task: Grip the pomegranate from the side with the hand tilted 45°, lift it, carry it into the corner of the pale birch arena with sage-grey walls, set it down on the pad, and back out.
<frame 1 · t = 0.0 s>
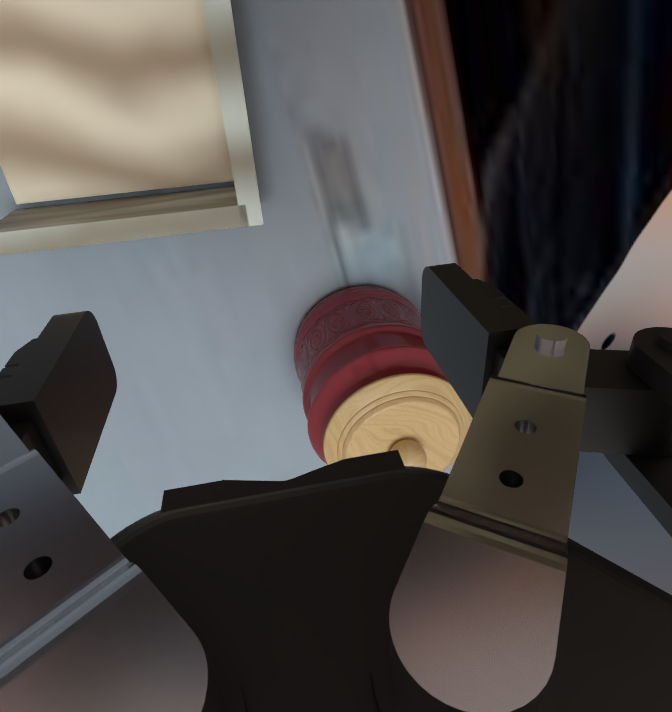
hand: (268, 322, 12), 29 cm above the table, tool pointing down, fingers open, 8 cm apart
arena: (104, 40, 32), on the table
canister: (357, 342, 48), on the table
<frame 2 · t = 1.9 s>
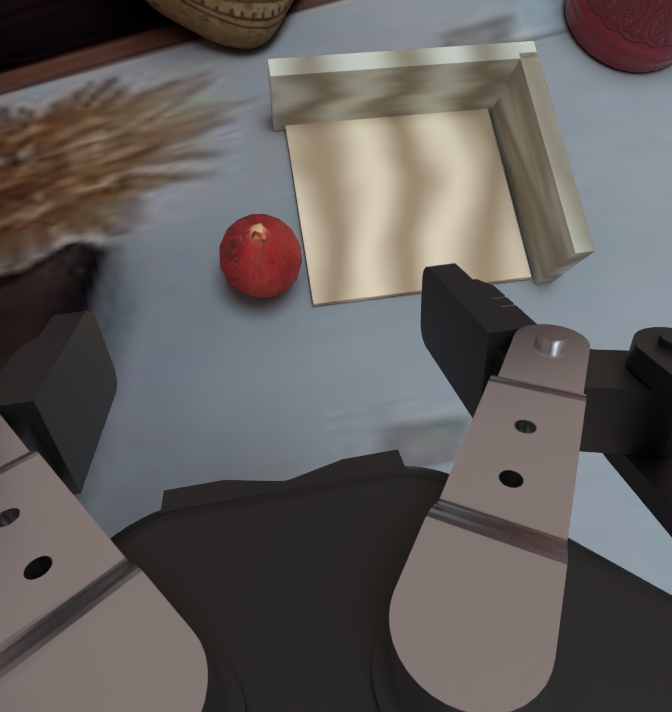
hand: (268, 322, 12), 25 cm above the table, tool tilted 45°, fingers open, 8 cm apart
arena: (396, 193, 41), on the table
pomegranate: (264, 277, 39), on the table
canister: (623, 22, 48), on the table
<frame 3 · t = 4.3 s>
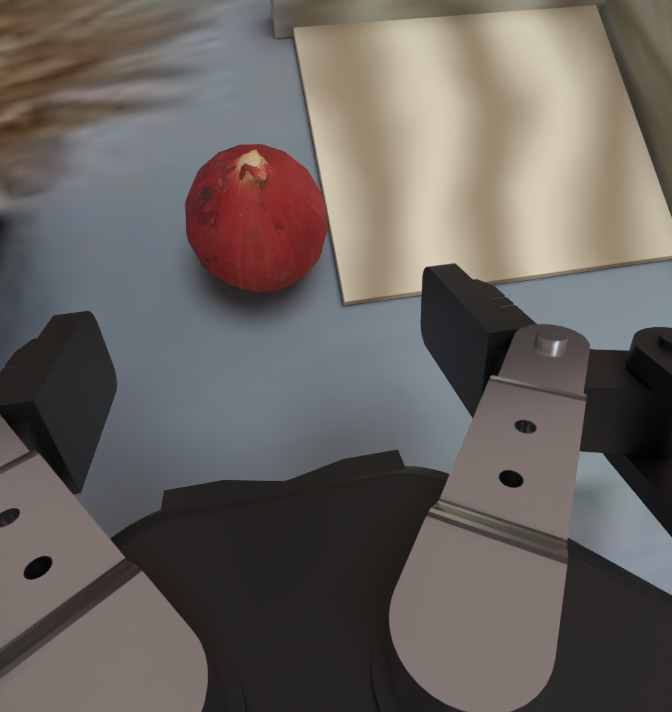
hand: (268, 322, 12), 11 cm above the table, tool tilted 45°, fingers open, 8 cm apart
arena: (466, 130, 27), on the table
pomegranate: (263, 260, 24), on the table
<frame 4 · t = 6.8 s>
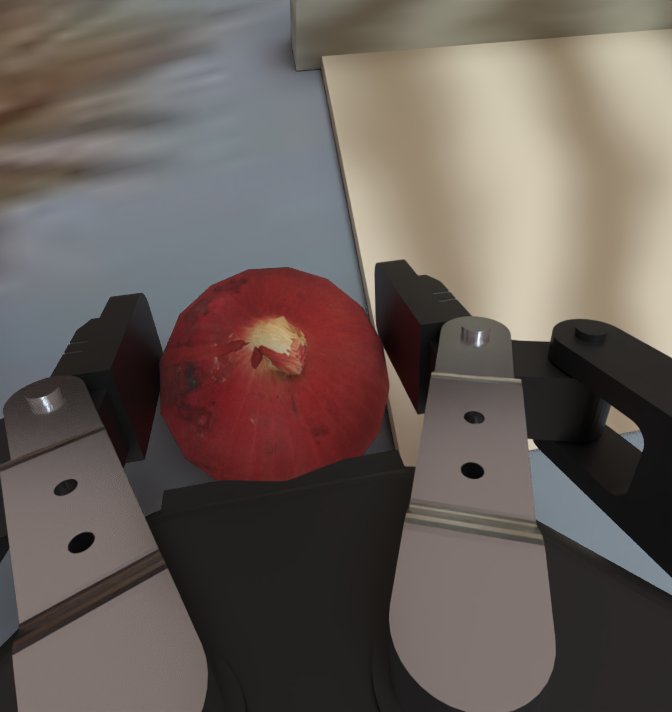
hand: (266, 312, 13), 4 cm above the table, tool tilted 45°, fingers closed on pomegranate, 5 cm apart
arena: (565, 201, 19), on the table
pomegranate: (281, 401, 17), on the table, touching gripper
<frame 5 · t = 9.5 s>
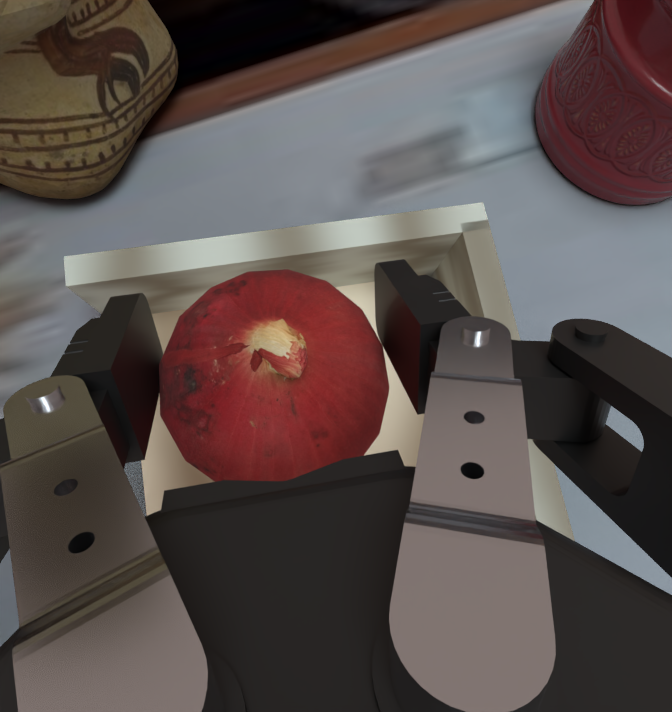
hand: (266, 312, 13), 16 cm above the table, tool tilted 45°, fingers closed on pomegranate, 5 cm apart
arena: (292, 412, 28), on the table
pomegranate: (281, 403, 16), point 12 cm above the table, touching gripper
ceramic vessel: (36, 85, 32), on the table
canister: (615, 129, 35), on the table
when the fingers open (6 cm above the table, at t = 12.5 s): pomegranate drops 1 cm, resting on arena.
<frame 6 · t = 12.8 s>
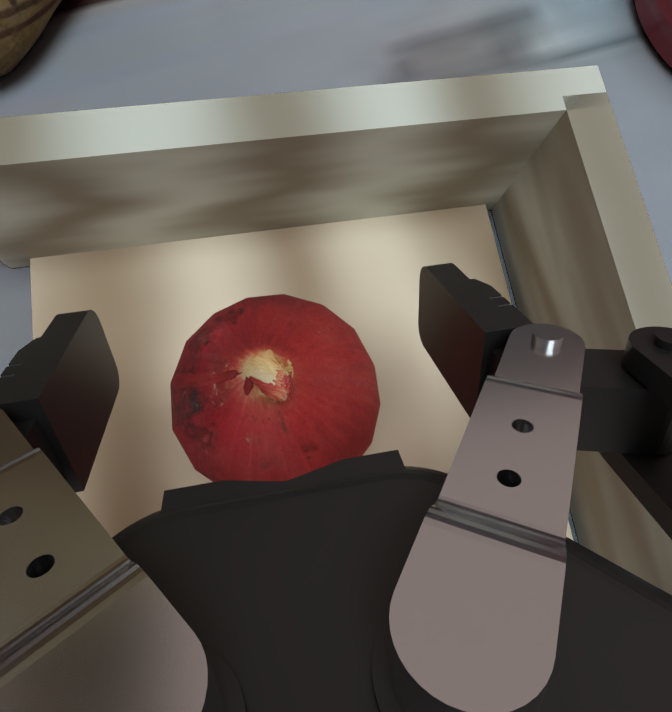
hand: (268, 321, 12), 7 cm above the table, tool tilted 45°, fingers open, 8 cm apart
arena: (283, 408, 18), on the table
pomegranate: (288, 410, 18), resting on arena
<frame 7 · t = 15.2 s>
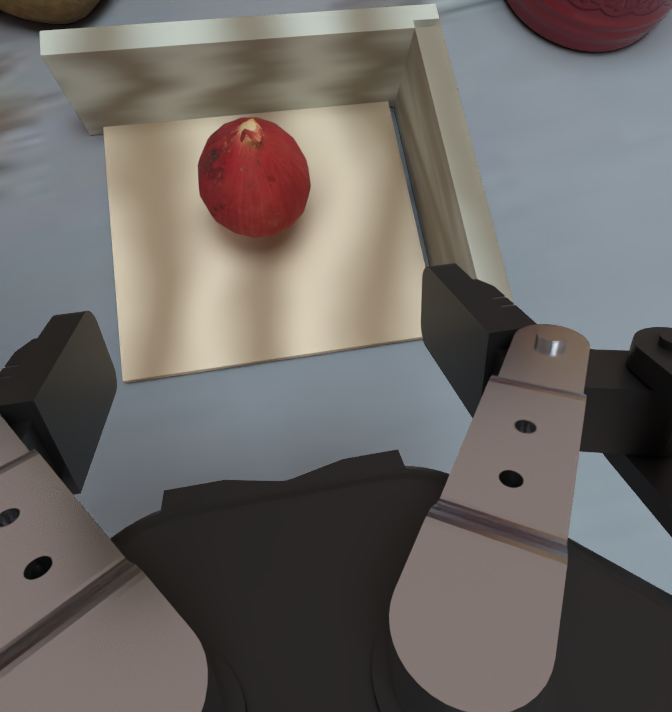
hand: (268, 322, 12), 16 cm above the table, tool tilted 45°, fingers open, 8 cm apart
arena: (258, 219, 30), on the table
pomegranate: (260, 218, 29), resting on arena
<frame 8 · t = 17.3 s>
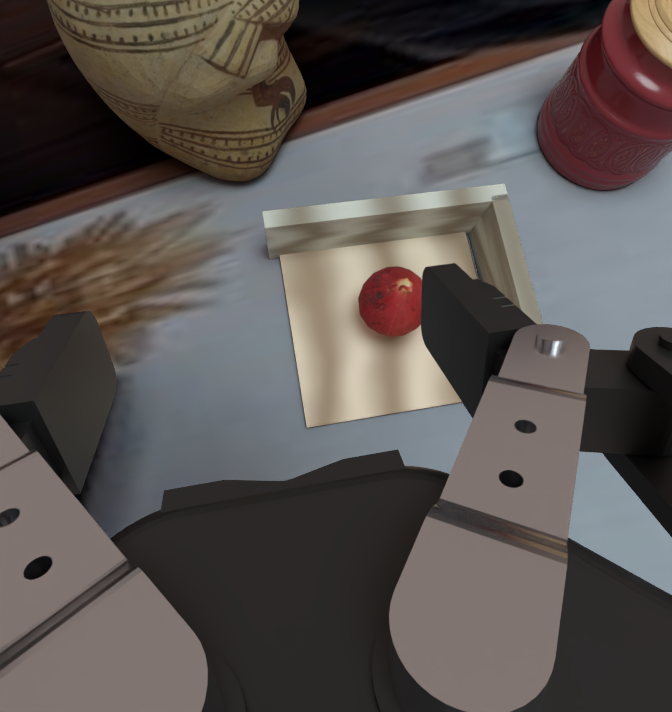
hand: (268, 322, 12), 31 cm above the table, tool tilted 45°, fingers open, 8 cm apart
arena: (382, 316, 45), on the table
pomegranate: (385, 316, 44), resting on arena
ceramic vessel: (210, 108, 49), on the table
canister: (592, 139, 51), on the table
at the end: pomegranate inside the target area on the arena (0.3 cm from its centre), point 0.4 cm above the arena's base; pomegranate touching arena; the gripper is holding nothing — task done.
